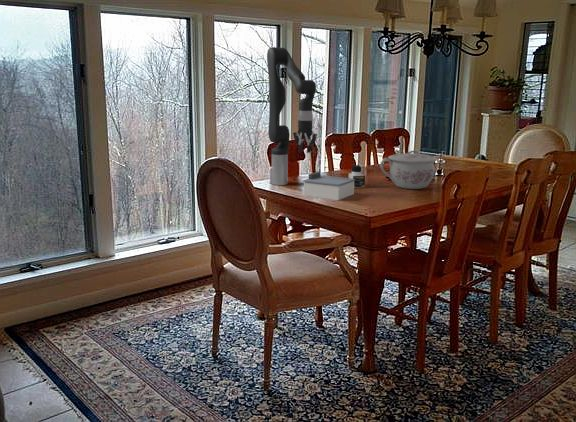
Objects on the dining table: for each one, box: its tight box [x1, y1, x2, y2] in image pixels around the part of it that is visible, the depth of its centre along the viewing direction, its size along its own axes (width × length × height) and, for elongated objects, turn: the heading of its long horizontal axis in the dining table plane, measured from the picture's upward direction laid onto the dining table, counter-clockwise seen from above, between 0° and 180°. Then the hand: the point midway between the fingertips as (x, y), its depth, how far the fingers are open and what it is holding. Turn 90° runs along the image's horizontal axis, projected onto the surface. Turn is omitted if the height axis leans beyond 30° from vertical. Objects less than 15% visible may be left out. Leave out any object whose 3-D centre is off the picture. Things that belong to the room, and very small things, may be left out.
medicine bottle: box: [348, 164, 366, 189], centre depth 312 cm, size 7×7×12 cm
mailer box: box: [303, 181, 355, 201], centre depth 290 cm, size 20×18×7 cm
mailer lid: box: [302, 171, 355, 186], centre depth 288 cm, size 21×19×3 cm
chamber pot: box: [379, 150, 439, 190], centre depth 311 cm, size 28×28×21 cm
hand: (304, 152), depth 293 cm, fingers open, 4 cm apart
